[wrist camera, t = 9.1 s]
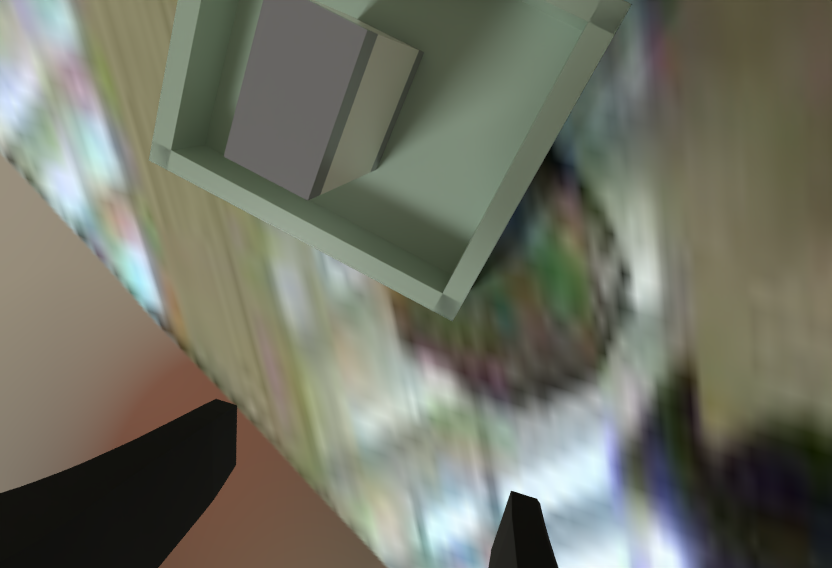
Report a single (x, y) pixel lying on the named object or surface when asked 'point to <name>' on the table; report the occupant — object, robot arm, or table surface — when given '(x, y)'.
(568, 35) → the parts tray
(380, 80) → the block
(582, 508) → the table surface
